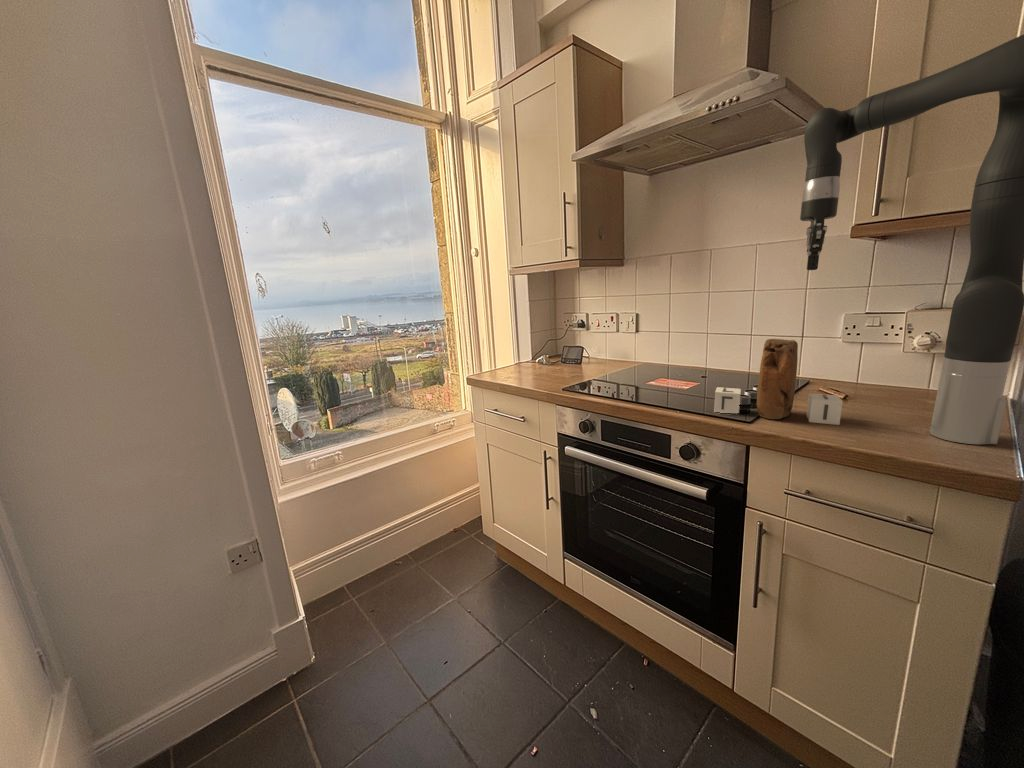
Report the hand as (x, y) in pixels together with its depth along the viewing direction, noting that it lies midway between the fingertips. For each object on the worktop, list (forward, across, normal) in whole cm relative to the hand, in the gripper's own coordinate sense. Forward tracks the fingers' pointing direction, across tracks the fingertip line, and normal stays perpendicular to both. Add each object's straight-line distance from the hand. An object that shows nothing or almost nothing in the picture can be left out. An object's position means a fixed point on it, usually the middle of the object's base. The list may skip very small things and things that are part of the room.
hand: (811, 270), depth 108 cm
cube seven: (+37, -12, +17) cm, 43 cm away
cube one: (+37, -12, -4) cm, 39 cm away
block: (+37, -12, +6) cm, 40 cm away
